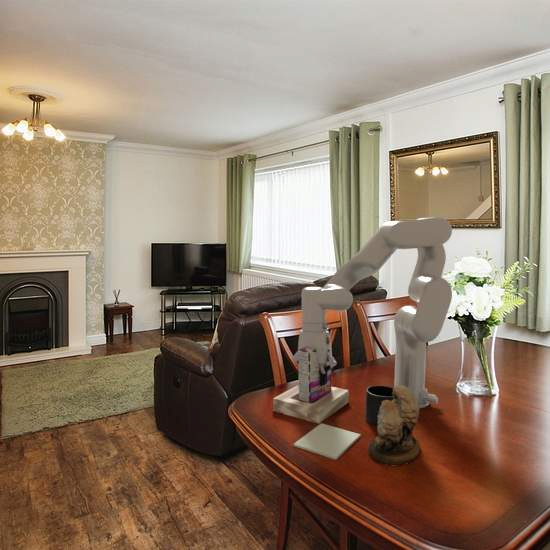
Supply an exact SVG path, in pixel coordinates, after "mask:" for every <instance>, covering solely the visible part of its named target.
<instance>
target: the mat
mask: <svg viewBox="0 0 550 550" xmlns="http://www.w3.org/2000/svg"><path fill="white" fill-rule="evenodd" d="M360 438H361V433H356V432H353V431H350V430H346V429H343V428H339V427H336V426H333V425H328V424H326V423H325V424H324V423H322V422H321V423H320V424H318V425H317V426H315V427H314V428H313V429H311V431H309V432H307V433H306V434H304V435H303V436H302V437H301V438H299V439H298V440H297V441H296V442H294V443H293V447H296V448H299V449H302V450H305V451H308V452H311V453H314V454H317V455H320V456H323V457H326V458H328V459H332V460H338V458H340V457H341V456H342V455H343V454H344V453H345V452H346V451H347V450H348V449H349V448H351V446H352V445H353V444H354V443H355V442H357V441H358V440H359V439H360Z"/></svg>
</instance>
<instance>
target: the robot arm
mask: <svg viewBox="0 0 550 550" xmlns="http://www.w3.org/2000/svg"><path fill="white" fill-rule="evenodd" d="M452 227H453V226H452V225H451V223H450V222H449V221H448V220H447V219H446V218H444V217H439V216H434V217H433V216H432V217H421V218H417V219H410V220H408V219H407V220H392V221H391V220H390V221H386V222H384V223H383V224H381V225H380V226H379V228H378V229H377V230H375V233H373V234H372V235H371V237H370V238H369V239H368V240H367V242H366V243H365V244H364V245H363V246H362V247H361V248H360V249H359V251H358V252H357V253H356V254H355V255H354V256H352V258H350V259H349V260H347V262H346V263H344V264H343V265H342V266H341V267H340V268H338V270H336V272H335V273H334V274H333V275H332V276H331V277H330V278H329V280H328V281H327V282H326V283H325V285H324V286H323V287H320V286H307V287H304V288H302V290H301V329H300V331H299V336H298V343H297V344H298V346H297V351H296V352H295V353H294V355H293V356H292V357H293V359H294V361H295V362H296V363H297V364H298V349H301V348H309V349H315V350H316V353H317V363H318V364H319V366H320V369H321V373H320V386H323V385H325V384H326V383H327V372H328V371H329V370H330V369H331V370H332V369H333V367H335V366H336V365H337V364H338V363H337V360H336V359H335V357H334V356H333V351H332V350H333V349H332V341H331V336H330V332H329V329H330V327H331V326H330V324H328V321H327V311H332V312H333V311H334V312H345V311H346V310H348V309H350V308H351V306H352V304H353V302H354V297H353V294H352V293H351V291H350V290H351V289H352V288H353V287H354V286H355V285H356V284H357V283H359V282H360V281H361V280H364V279H366V278H368V277H371V276H373V275H374V274H376V273H378V272H379V271H380V270H381V268H382V267H383V266H384V265H385V264H386V262H387V261H388V260H389V259H390V258H391V257H392V256H393V254H394V253H396V251H397V250H411V249H417V260H416V264H415V266H414V269H413V273H412V275H411V279H410V282H409V285H408V288H407V294H408V296H409V298H410V299H411V300H412V301H414V302H416V303H417V306H415V305H404V306H402V307H400V308H399V309H398V310H397V311H396V313H395V316H394V319H393V327H394V328H393V329H394V334H395V358H394V362H395V363H394V381H393V382H394V383H393V385H394V386H393V388H394V387H395V386H397V385H402V386H405V387H407V388H408V389H410V390H411V392H412V393H413V395H414V397H415V401H416V402H417V404H418V405H419V409H425V408H427V407H428V406H429V405H430V403H432V404H438V403H439V397H437V395H436V394H432V393H429V392H428V388H426V387H425V385H426V364H427V343H430V342H433V341H434V340H435V339H437V337H439V335H440V334H441V331H442V330H443V326H444V324H445V321H446V318H447V315H448V312H449V310H450V307H451V306H450V305H451V303H452V299H453V289H452V286H451V284H450V283H449V281H448V280H446V279H445V278H443V277H442V276H443V272H444V270H445V269H444V268H445V265H446V262H447V261H446V260H447V257H446V256H447V254H446V250H445V247H444V244H445V243H447V242H448V241H449V240H450V238H451V237H452V234H453V228H452ZM326 361H327V362H329V361H330V364H329V365H327V362H326Z"/></svg>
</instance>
